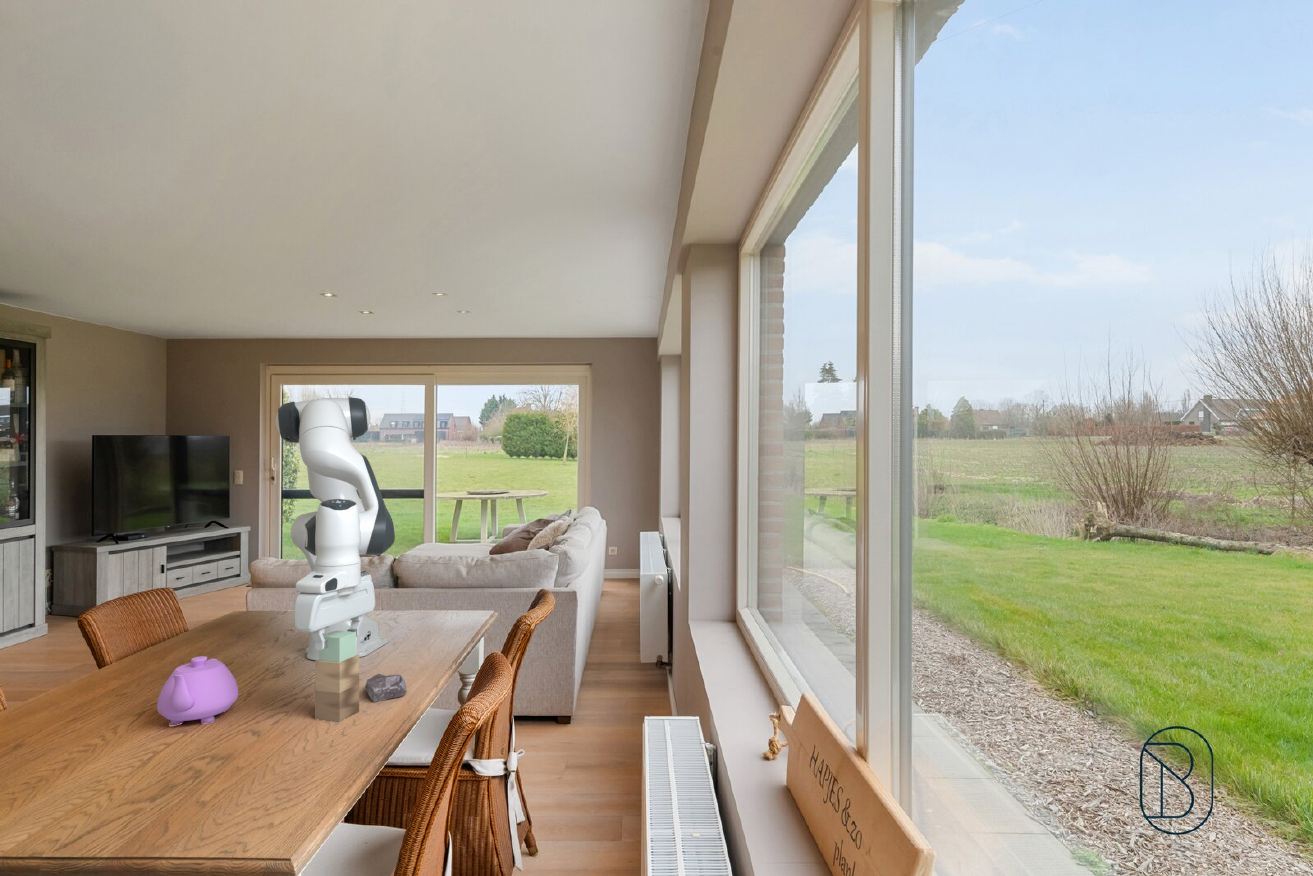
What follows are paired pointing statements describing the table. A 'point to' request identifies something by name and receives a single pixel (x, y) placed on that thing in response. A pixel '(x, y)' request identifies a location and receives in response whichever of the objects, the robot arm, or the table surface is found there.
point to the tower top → (336, 675)
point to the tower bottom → (336, 704)
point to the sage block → (339, 646)
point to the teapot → (197, 691)
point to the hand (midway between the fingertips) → (337, 643)
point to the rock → (385, 687)
